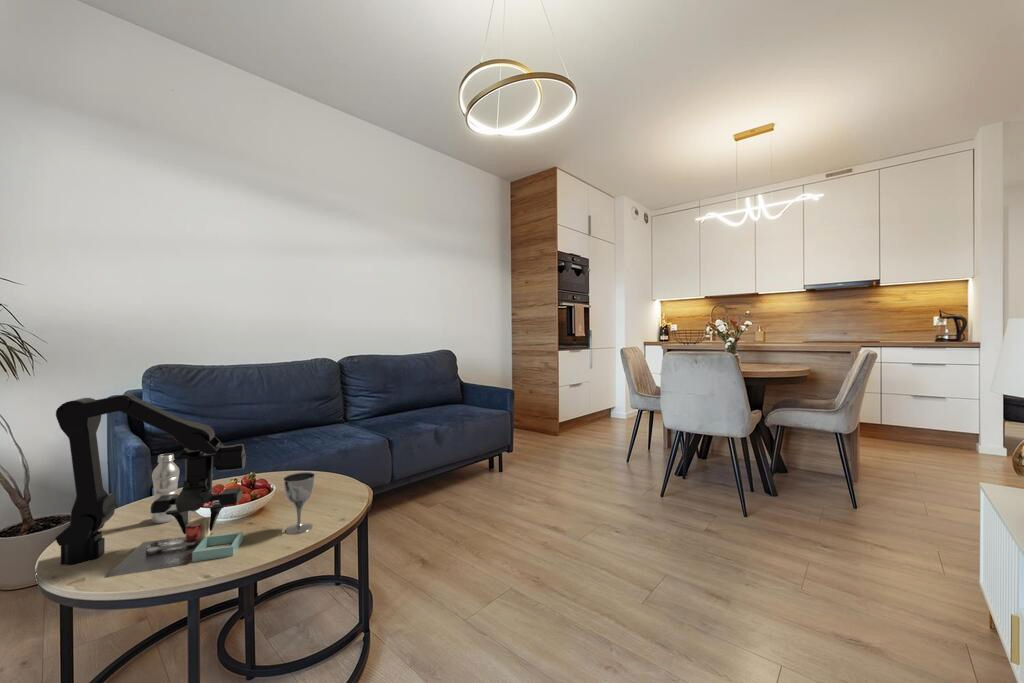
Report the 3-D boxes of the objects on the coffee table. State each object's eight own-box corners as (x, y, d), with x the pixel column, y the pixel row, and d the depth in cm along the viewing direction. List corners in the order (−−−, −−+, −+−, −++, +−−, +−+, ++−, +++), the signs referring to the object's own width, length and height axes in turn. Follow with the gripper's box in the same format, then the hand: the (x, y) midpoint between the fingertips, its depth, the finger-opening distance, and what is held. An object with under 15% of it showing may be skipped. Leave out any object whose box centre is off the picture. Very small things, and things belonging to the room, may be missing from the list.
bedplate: (104, 581, 91) (104, 576, 91) (143, 545, 107) (143, 541, 107) (187, 568, 96) (187, 564, 96) (212, 535, 112) (212, 532, 112)
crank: (143, 555, 100) (143, 535, 100) (148, 549, 103) (149, 530, 103) (198, 546, 104) (198, 528, 104) (202, 541, 107) (202, 522, 107)
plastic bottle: (175, 515, 125) (175, 450, 125) (182, 521, 121) (183, 454, 121) (147, 523, 120) (148, 455, 120) (154, 529, 116) (155, 459, 116)
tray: (192, 565, 97) (192, 552, 97) (205, 548, 105) (205, 536, 105) (233, 558, 100) (233, 546, 100) (242, 542, 108) (242, 531, 108)
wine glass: (283, 537, 111) (284, 483, 111) (282, 526, 118) (282, 475, 118) (315, 530, 115) (316, 478, 115) (312, 520, 122) (312, 470, 122)
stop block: (186, 544, 106) (186, 525, 106) (192, 537, 109) (192, 518, 109) (204, 541, 107) (204, 522, 107) (210, 534, 111) (210, 516, 111)
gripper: (139, 487, 97) (139, 552, 97) (230, 479, 104) (230, 540, 104) (161, 473, 108) (161, 532, 108) (242, 466, 114) (242, 521, 114)
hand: (198, 531), depth 108 cm, fingers open, 5 cm apart
